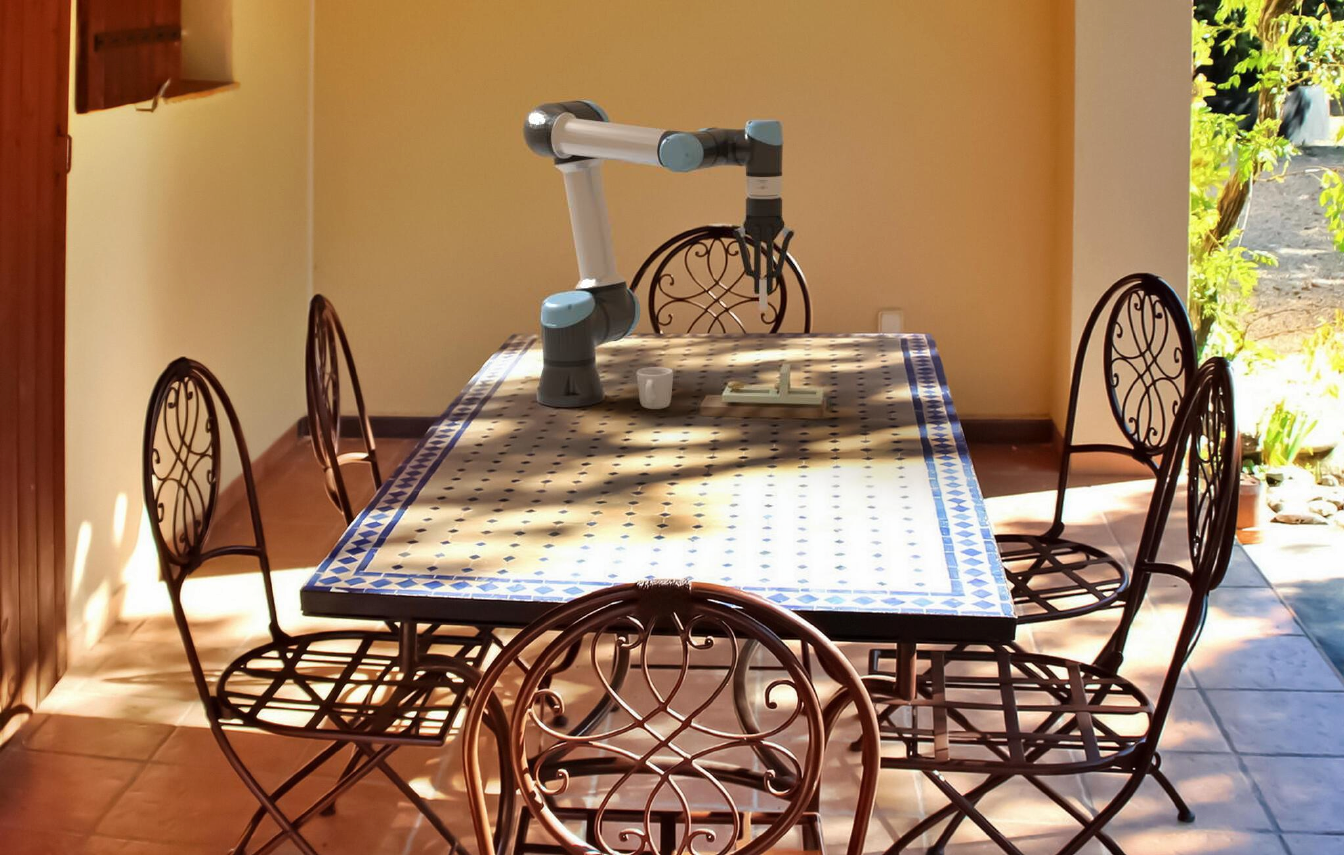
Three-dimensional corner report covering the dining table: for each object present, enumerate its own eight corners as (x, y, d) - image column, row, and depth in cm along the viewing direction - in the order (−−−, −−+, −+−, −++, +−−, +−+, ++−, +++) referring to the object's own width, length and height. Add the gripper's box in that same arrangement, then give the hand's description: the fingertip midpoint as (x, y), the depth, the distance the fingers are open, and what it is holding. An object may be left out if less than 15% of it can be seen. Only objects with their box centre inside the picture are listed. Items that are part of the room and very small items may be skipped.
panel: (721, 401, 305) (721, 371, 303) (726, 392, 313) (726, 362, 311) (821, 404, 302) (821, 373, 300) (823, 394, 309) (823, 364, 308)
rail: (700, 415, 306) (700, 388, 304) (706, 403, 315) (706, 376, 314) (823, 418, 302) (823, 391, 300) (825, 406, 311) (826, 379, 309)
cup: (667, 415, 306) (666, 379, 304) (630, 414, 308) (629, 377, 306) (677, 402, 316) (676, 367, 314) (641, 401, 318) (640, 366, 316)
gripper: (730, 198, 293) (730, 312, 300) (794, 198, 291) (792, 313, 298) (734, 194, 301) (734, 305, 307) (797, 194, 299) (795, 306, 305)
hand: (763, 309), depth 302 cm, fingers closed
